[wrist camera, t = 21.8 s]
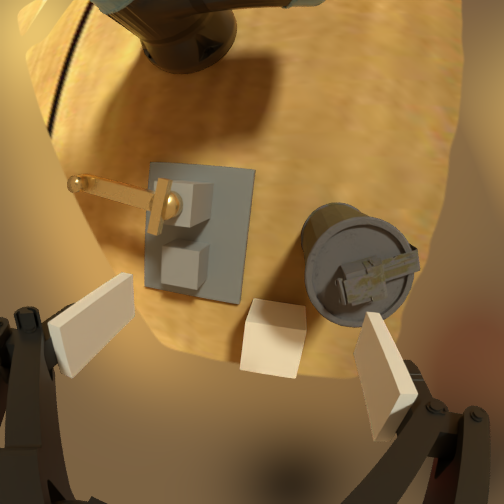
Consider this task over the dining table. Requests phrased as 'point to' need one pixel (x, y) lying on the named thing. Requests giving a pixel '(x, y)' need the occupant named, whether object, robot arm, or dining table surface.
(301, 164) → the dining table surface
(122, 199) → the latch bar
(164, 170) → the latch base
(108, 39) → the dining table surface
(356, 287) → the canister
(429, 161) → the dining table surface
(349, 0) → the dining table surface
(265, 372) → the cover
